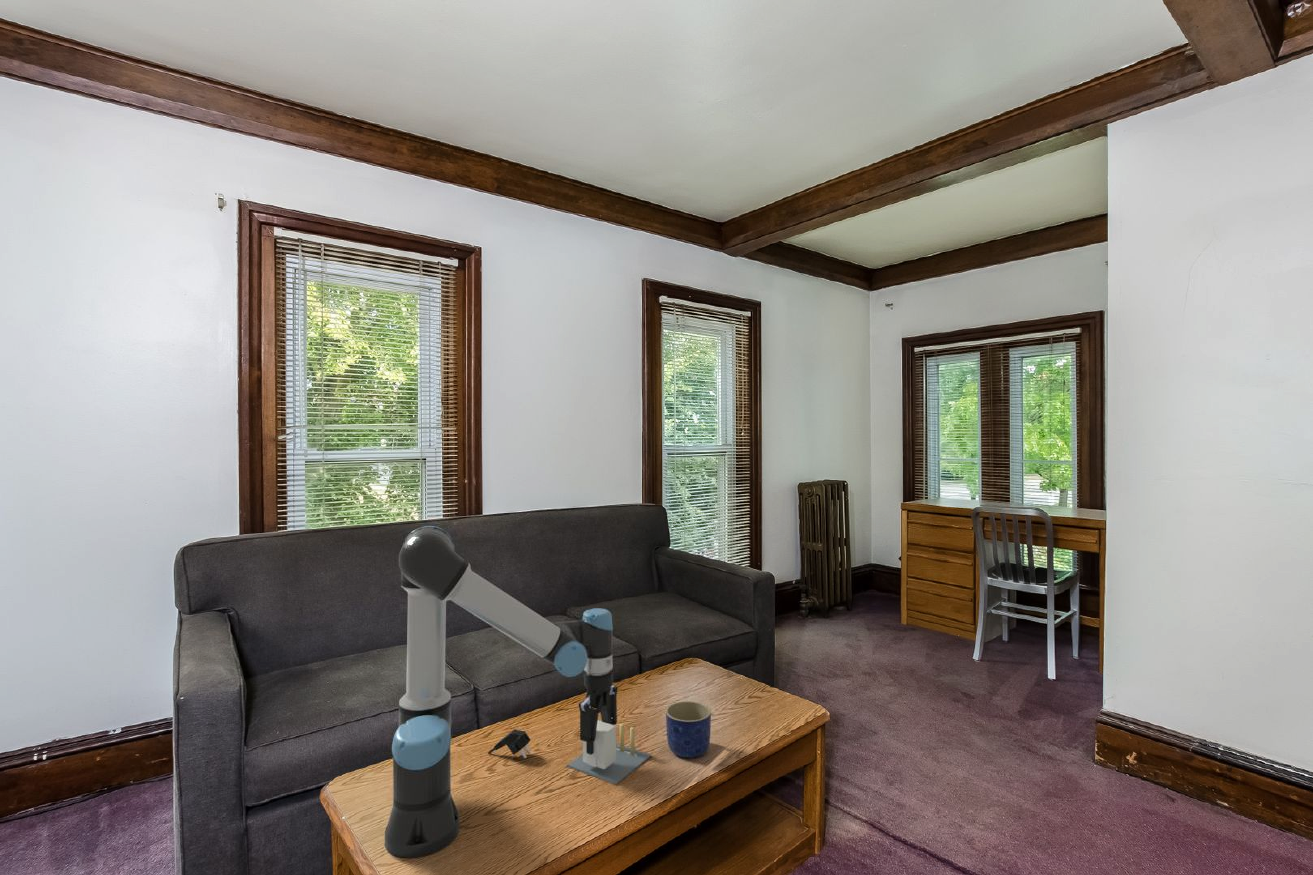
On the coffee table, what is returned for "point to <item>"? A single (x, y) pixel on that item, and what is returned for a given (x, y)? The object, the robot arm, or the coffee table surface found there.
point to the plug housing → (604, 745)
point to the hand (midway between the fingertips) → (599, 759)
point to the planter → (688, 728)
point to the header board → (621, 767)
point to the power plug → (514, 742)
